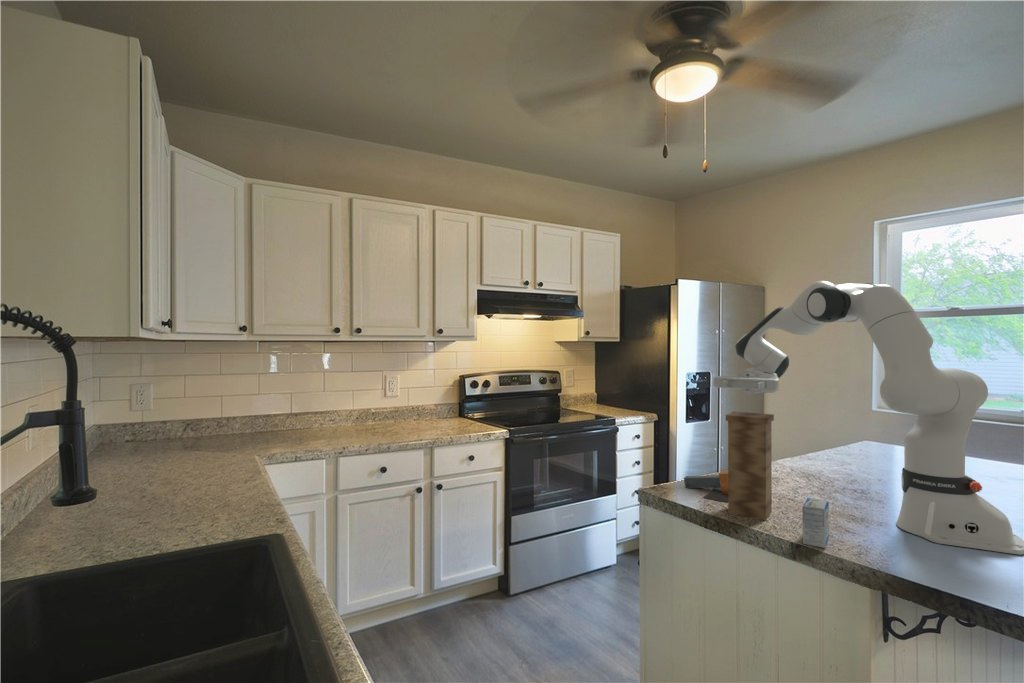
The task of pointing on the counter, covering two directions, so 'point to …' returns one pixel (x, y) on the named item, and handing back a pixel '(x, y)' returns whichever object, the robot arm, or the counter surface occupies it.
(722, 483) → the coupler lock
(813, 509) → the medicine box
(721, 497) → the rubber mat
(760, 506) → the stand
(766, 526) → the counter surface
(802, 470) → the counter surface
